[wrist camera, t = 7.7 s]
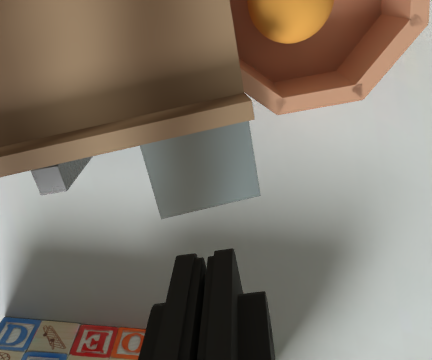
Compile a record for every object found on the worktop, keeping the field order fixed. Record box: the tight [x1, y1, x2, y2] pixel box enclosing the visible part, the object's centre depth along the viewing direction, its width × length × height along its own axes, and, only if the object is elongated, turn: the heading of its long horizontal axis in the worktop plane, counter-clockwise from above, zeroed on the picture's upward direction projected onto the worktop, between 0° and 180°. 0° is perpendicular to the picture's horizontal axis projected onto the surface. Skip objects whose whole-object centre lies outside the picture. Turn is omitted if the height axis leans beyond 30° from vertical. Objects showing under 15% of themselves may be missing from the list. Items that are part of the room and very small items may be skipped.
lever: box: [0, 0, 260, 219], centre depth 17 cm, size 18×12×4 cm
